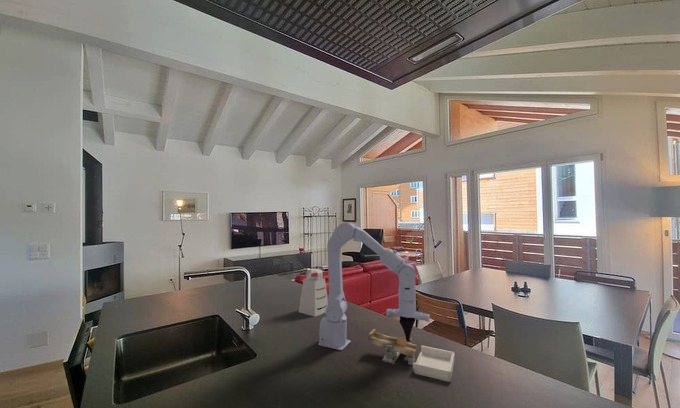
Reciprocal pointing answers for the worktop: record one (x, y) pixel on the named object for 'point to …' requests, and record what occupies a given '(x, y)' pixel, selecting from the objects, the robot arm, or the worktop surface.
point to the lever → (391, 343)
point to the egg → (401, 342)
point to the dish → (435, 363)
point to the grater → (313, 294)
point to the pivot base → (395, 355)
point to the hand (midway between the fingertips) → (407, 339)
